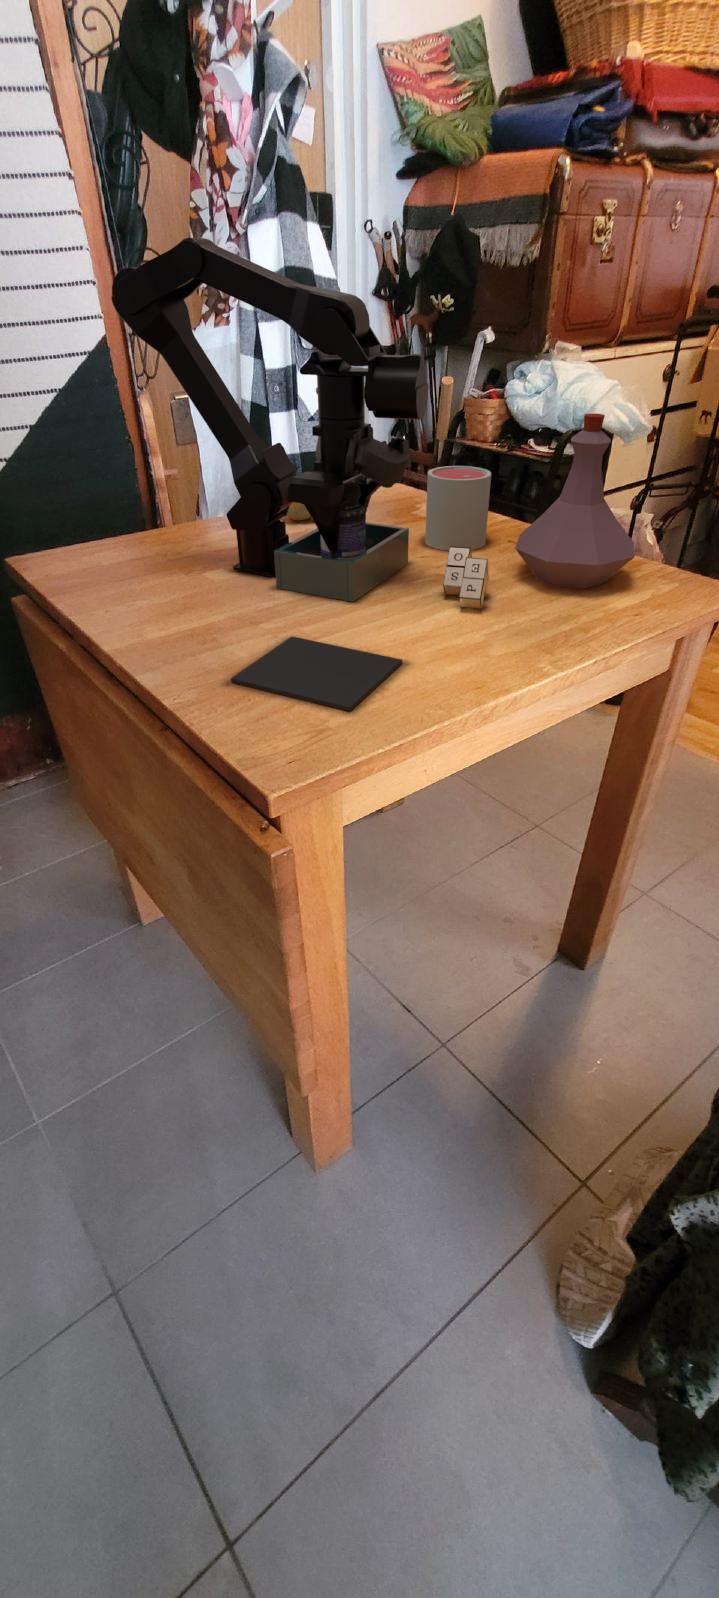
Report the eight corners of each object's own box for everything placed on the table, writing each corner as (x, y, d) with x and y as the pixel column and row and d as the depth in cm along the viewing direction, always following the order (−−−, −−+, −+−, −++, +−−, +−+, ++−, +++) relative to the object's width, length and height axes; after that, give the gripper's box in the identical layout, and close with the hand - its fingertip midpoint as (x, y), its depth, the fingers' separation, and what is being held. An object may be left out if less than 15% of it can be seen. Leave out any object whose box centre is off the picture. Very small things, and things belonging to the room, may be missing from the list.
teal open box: (276, 588, 102) (273, 550, 99) (337, 552, 114) (336, 517, 111) (353, 602, 98) (352, 563, 95) (408, 563, 110) (409, 527, 107)
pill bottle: (371, 566, 107) (372, 483, 101) (356, 580, 102) (357, 493, 96) (330, 561, 109) (329, 479, 102) (314, 574, 104) (311, 489, 98)
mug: (488, 550, 114) (495, 479, 108) (426, 550, 114) (429, 480, 109) (478, 524, 125) (483, 459, 120) (421, 524, 125) (424, 459, 120)
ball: (270, 518, 129) (267, 474, 125) (304, 511, 133) (302, 468, 129) (293, 528, 125) (291, 482, 121) (328, 520, 128) (327, 476, 124)
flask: (487, 581, 103) (501, 418, 92) (542, 550, 114) (561, 400, 102) (603, 608, 95) (634, 432, 84) (651, 572, 106) (685, 411, 94)
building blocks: (482, 617, 98) (492, 559, 99) (481, 599, 93) (491, 538, 94) (441, 613, 99) (451, 556, 100) (437, 595, 94) (448, 535, 95)
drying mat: (231, 682, 79) (230, 678, 79) (291, 640, 88) (291, 636, 88) (350, 711, 74) (350, 707, 74) (402, 663, 83) (402, 659, 82)
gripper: (365, 434, 85) (366, 573, 94) (431, 409, 98) (426, 533, 107) (279, 426, 89) (288, 560, 98) (354, 403, 102) (356, 523, 111)
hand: (344, 543), depth 103 cm, fingers closed on pill bottle, 6 cm apart
